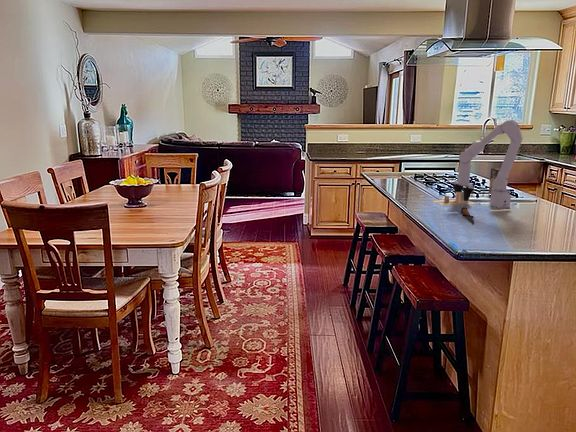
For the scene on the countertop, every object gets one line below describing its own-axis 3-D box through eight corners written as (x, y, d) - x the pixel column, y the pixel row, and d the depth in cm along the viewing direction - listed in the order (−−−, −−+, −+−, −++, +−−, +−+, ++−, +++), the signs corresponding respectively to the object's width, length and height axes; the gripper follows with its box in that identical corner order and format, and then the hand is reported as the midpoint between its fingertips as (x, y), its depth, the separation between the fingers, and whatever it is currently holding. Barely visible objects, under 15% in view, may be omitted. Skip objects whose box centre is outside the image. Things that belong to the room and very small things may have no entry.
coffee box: (487, 195, 265) (490, 168, 262) (498, 195, 265) (501, 168, 261) (494, 198, 256) (497, 170, 253) (505, 198, 256) (508, 170, 253)
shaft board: (478, 206, 235) (479, 197, 234) (443, 207, 231) (444, 199, 230) (461, 200, 250) (462, 192, 249) (428, 201, 246) (429, 193, 245)
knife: (481, 224, 195) (469, 221, 196) (479, 230, 196) (467, 227, 197) (469, 208, 219) (459, 205, 220) (467, 214, 220) (457, 211, 221)
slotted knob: (464, 200, 244) (464, 191, 243) (468, 202, 240) (469, 193, 239) (454, 201, 243) (455, 192, 242) (459, 202, 239) (460, 193, 238)
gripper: (450, 172, 244) (448, 197, 247) (465, 176, 230) (462, 202, 233) (461, 172, 245) (459, 196, 249) (477, 176, 232) (475, 201, 235)
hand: (462, 199), depth 241 cm, fingers open, 7 cm apart
